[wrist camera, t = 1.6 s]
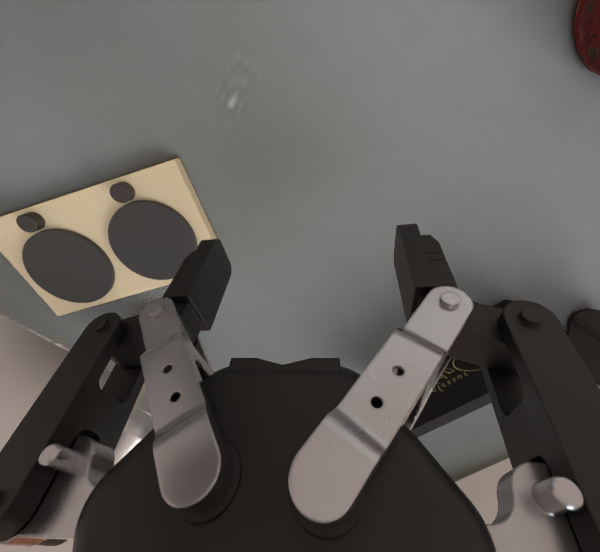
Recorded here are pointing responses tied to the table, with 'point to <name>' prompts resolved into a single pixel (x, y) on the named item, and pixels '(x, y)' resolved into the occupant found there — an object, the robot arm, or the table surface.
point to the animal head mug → (588, 33)
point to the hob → (107, 238)
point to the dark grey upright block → (587, 339)
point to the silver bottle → (135, 426)
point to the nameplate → (454, 394)
